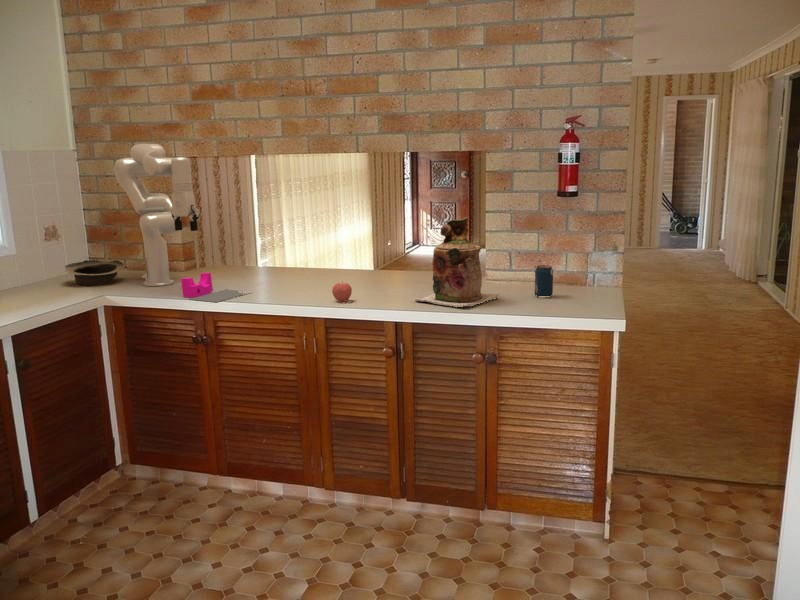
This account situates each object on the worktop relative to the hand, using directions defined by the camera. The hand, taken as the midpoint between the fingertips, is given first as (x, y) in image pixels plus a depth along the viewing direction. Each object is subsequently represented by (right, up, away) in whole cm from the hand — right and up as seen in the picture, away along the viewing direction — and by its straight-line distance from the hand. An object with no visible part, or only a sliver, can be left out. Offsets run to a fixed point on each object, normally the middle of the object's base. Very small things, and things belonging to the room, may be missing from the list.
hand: (186, 230), depth 287 cm
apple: (+66, -29, -18) cm, 74 cm away
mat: (+16, -27, -5) cm, 31 cm away
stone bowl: (-50, -21, +30) cm, 62 cm away
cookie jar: (+110, -29, -19) cm, 115 cm away
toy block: (+6, -26, 0) cm, 27 cm away
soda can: (+144, -27, -14) cm, 147 cm away
